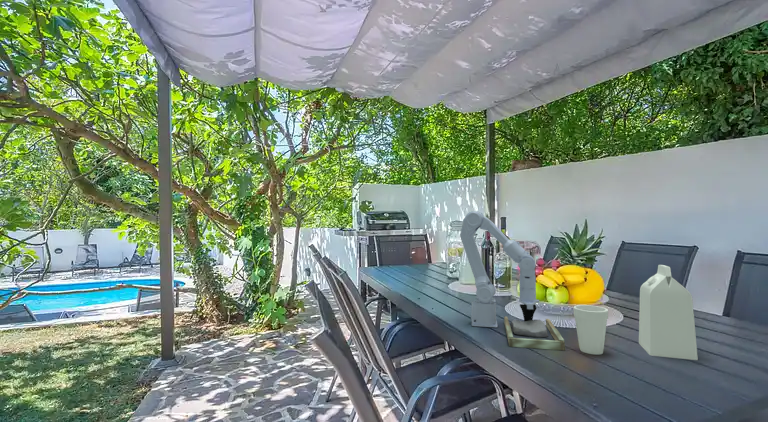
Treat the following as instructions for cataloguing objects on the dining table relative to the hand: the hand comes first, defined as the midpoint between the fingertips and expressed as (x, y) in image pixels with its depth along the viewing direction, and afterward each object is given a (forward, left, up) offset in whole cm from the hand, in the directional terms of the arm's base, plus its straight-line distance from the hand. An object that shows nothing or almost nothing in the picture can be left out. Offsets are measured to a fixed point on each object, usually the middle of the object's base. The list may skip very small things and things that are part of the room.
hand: (528, 324), depth 141 cm
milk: (+38, -16, -2) cm, 41 cm away
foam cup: (+16, -21, -2) cm, 27 cm away
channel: (0, -8, -1) cm, 9 cm away
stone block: (0, -6, -2) cm, 6 cm away
